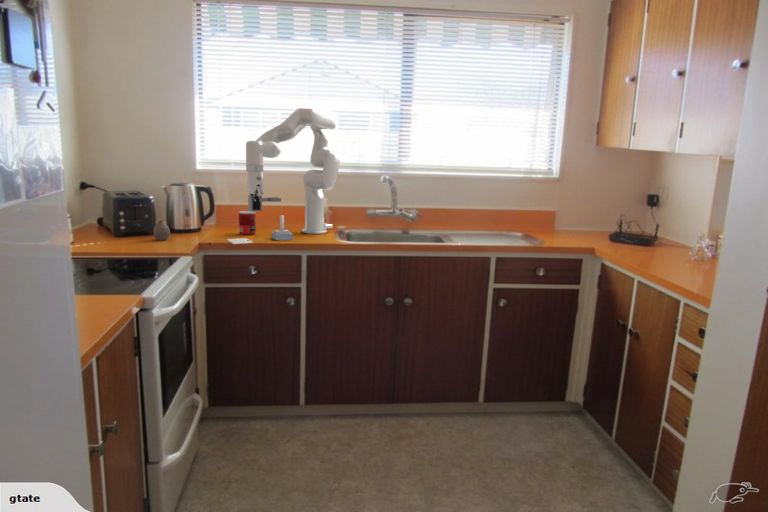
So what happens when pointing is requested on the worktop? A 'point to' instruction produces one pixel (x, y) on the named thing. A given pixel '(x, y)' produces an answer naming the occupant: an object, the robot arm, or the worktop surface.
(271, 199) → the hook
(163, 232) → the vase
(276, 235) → the grey joystick
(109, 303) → the worktop surface
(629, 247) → the worktop surface
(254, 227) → the canned food
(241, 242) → the mat
